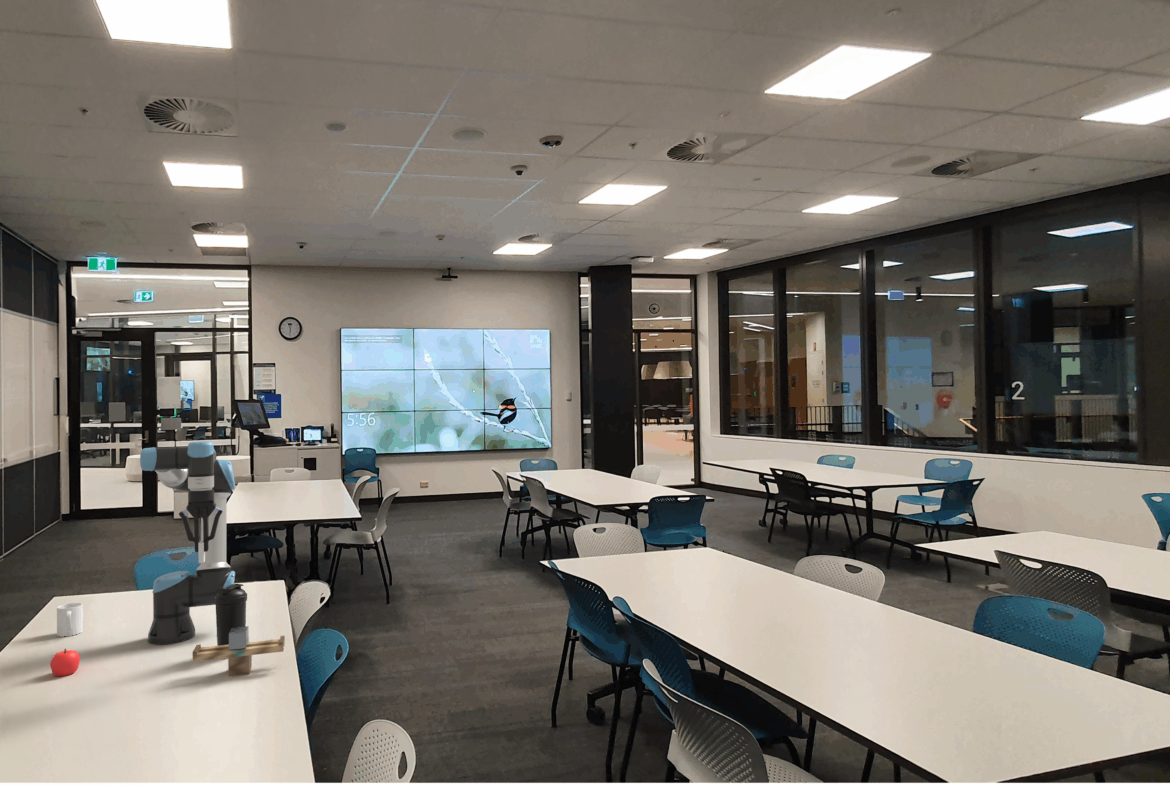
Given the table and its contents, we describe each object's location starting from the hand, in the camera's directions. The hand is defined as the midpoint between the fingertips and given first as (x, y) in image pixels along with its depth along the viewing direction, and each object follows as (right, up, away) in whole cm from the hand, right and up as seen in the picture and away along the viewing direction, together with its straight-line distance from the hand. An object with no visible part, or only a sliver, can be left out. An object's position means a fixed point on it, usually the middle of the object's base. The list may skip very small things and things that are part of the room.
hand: (201, 561), depth 241 cm
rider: (+14, -28, -4) cm, 31 cm away
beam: (+14, -34, -4) cm, 37 cm away
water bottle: (+3, -35, +13) cm, 37 cm away
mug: (-67, -36, +35) cm, 84 cm away
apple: (-42, -35, -4) cm, 55 cm away
